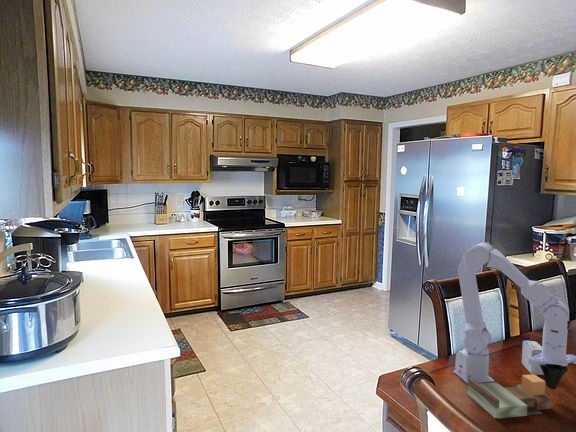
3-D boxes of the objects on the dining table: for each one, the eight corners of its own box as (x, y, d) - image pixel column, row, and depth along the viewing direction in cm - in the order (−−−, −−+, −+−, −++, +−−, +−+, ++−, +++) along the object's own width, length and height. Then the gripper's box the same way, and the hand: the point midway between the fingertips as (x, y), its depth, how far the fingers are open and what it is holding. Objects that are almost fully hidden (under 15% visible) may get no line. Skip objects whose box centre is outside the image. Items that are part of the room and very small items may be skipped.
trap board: (495, 418, 100) (496, 400, 100) (467, 394, 112) (468, 378, 112) (557, 412, 103) (558, 395, 103) (523, 389, 115) (524, 373, 115)
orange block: (532, 395, 106) (532, 382, 106) (521, 388, 110) (522, 375, 110) (544, 394, 107) (545, 381, 106) (533, 387, 111) (534, 374, 110)
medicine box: (545, 376, 123) (547, 350, 123) (530, 374, 124) (532, 349, 124) (534, 364, 131) (536, 341, 130) (520, 363, 132) (522, 339, 131)
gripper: (543, 350, 103) (540, 397, 104) (588, 347, 105) (585, 393, 106) (523, 339, 110) (521, 383, 111) (566, 337, 112) (563, 380, 113)
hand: (551, 387), depth 109 cm, fingers closed
